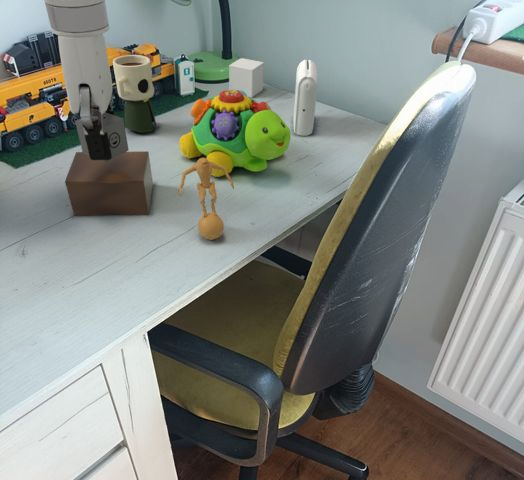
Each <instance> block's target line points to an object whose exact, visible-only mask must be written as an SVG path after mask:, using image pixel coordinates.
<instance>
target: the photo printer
mask: <svg viewBox="0 0 524 480" xmlns="http://www.w3.org/2000/svg"><path fill="white" fill-rule="evenodd" d="M318 73H319V72H318V68H317V65H316V63H315V62H314V61H313V60H312V59H309V60H307V59H303V60H302V61H301V62H300V63H299V64H298V66H297V68H296V73H295V74H296V75H295V91H294V105H293V121H292V124H293V132H294V134H296V135H297V136H300V137H301V136H302V137H307V136H310V135H312V134H313V130H314V123H315V116H316V115H315V114H316V105H317V93H318V83H319V75H318Z"/></svg>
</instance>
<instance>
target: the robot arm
mask: <svg viewBox="0 0 524 480" xmlns="http://www.w3.org/2000/svg"><path fill="white" fill-rule="evenodd" d="M44 5H45V8H46V12H47V18H48V22H49V26H50V29H51V32H52V33H53V34H54V35H57V41H58V50H59V58H60V63H61V70H62V74H63V80H64V85H65V90H66V96H67V100H68V105H69V110H70V112H71V113H72V114H73V115H78V114H79V113H80V119H81V120H82V122H83V128H84V134H85V139H86V143H87V147H88V152H89V156H90V159H91V160H111V158H112V154H111V149H110V144H109V139H108V134H107V132H105V129H104V119H103V114H104V113H105V112H106V113H109V114H112V115H115V111H114V110H113V109H114V108H113V107H114V105H113V102H112V95H113V79H112V72H111V68H110V62H109V55H108V51H107V47H106V42H105V35H104V34H105V33H106V32H108V31H109V30H110V23H109V18H108V16H109V15H108V11H107V4H106V0H44ZM93 116H98V122H99V125H98V122H97V121H96V120H93Z"/></svg>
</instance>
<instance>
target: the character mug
mask: <svg viewBox="0 0 524 480" xmlns="http://www.w3.org/2000/svg"><path fill="white" fill-rule="evenodd" d="M112 65H113V66H112V67H113V71H114V78H115V83H116V91H117V95H118V97H119V98H120V99H122V100H124V104H123V105H124V125H125V129H127V130H130V131H132V132H136V133H147V132H151V131H154V128H156V129H157V122H156V117H155V112H154V109H153V104H152V102H151V98H153V97H154V95H155V87H154V84H153V79H152V78H153V70H152V63H151V59H150V58H149V57H147V56H145V55H140V54H125V55H120V56H117V57H115V58H113V60H112Z"/></svg>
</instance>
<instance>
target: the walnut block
mask: <svg viewBox="0 0 524 480" xmlns="http://www.w3.org/2000/svg"><path fill="white" fill-rule="evenodd" d="M64 184H65V188H66V192H67V195H68V198H69V202H70V206H71V209H72V213H73V216H74V217H75V216H76V217H78V216H79V217H81V216H82V217H83V216H125V215H126V216H134V215H135V216H136V215H140V216H141V215H149V214H150V209H151V208H150V207H151V201H152V195H153V187H154V181H153V174H152V168H151V159H150V152H149V150H148V151H147V150H146V151H126V152H124V153H123V154H121V155H119V156H117V157H115V158H113V159H111V160H109V161H107V162H104V161H101V160H91V159H90V156H89V155H86V154H84V153H83V152H82V151H76V152H75V153H74V156H73V159H72V161H71V164H70V167H69V170H68V172H67V175H66V177H65V179H64Z"/></svg>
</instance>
